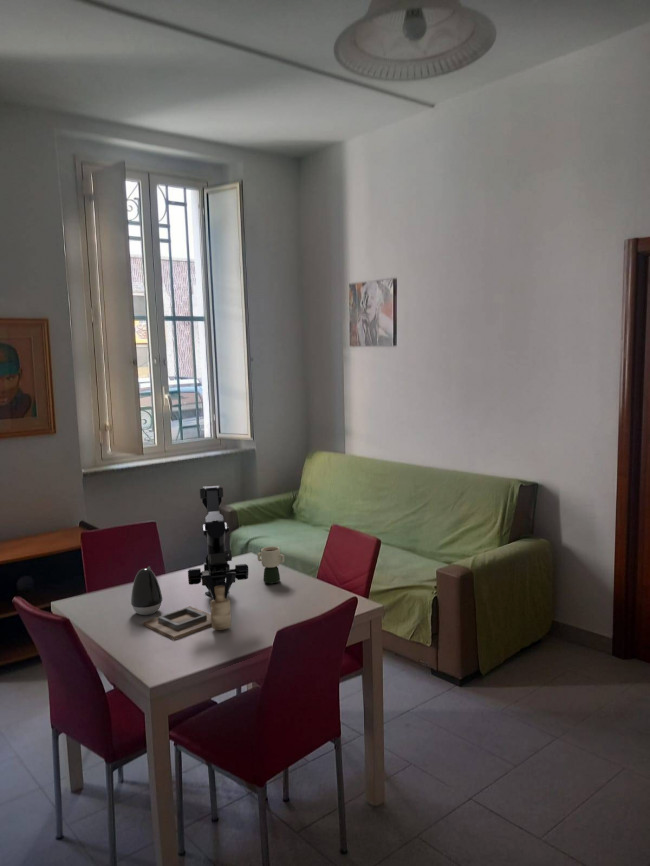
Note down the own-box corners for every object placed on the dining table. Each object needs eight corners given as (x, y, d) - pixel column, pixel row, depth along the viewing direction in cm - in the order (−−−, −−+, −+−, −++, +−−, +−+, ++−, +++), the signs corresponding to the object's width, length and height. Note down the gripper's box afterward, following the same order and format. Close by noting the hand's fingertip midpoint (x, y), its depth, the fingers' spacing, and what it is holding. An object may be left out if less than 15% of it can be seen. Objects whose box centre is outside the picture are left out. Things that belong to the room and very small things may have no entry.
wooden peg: (207, 626, 206) (205, 587, 205) (223, 620, 210) (221, 582, 209) (219, 631, 202) (217, 591, 200) (235, 625, 206) (233, 586, 205)
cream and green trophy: (288, 580, 251) (287, 547, 250) (281, 586, 245) (280, 552, 243) (262, 578, 255) (261, 545, 254) (254, 584, 248) (253, 550, 247)
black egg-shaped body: (166, 606, 228) (163, 563, 227) (158, 617, 218) (155, 572, 216) (137, 606, 229) (134, 564, 227) (127, 618, 218) (124, 573, 217)
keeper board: (143, 625, 212) (142, 617, 212) (190, 608, 225) (189, 601, 225) (174, 639, 200) (173, 631, 199) (222, 621, 212) (221, 614, 212)
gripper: (186, 544, 205) (188, 590, 196) (246, 539, 209) (251, 584, 199) (187, 561, 214) (189, 606, 204) (245, 556, 217) (250, 600, 208)
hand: (220, 599), depth 204 cm, fingers closed on wooden peg, 3 cm apart
